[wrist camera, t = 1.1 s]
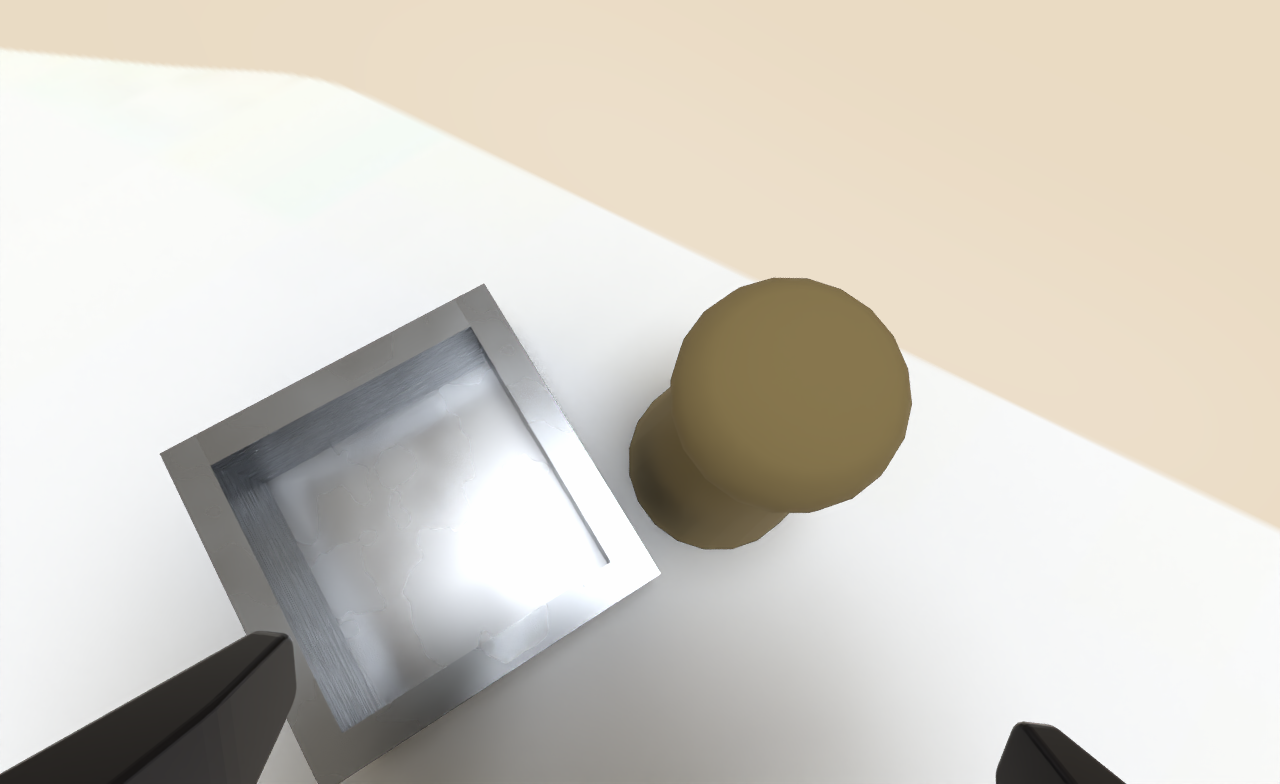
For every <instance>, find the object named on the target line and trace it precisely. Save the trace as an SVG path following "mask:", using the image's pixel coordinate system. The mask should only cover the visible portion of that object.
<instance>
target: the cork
mask: <svg viewBox="0 0 1280 784" xmlns="http://www.w3.org/2000/svg"><path fill="white" fill-rule="evenodd" d="M911 406H912V400H911V391H910V382H909V373H908V368H907V365H906V363H905V361H904V359H903V356H902V354H901V352H900V350H899V347H898V345H897V343H896V340H895V339H894V336H893V335H892V334H891V332H890V331H889V330H888V329H887V328H886V326H885V325H884V324H883V323H882V322H881V321H880V319H879V318H878V317H877V316H876V315H875V314H874V312H873V311H872V310H871V309H870V308H868V307H867V306H865V305H864V304H862V303H861V302H859V301H858V300H856V299H855V298H853V297H852V296H850V295H849V294H847V293H846V292H844V291H843V290H841V289H839V288H836V287H832V286H829V285H826V284H823V283H820V282H816V281H814V280H811V279H807V278H771V279H767V280H764V281H760V282H757V283H753V284H750V285H746V286H743V287H740V288H738V289H737V290H735V291H733V292H732V293H730V294H729V295H727V296H726V297H725V298H723V299H722V300H720V301H719V302H717V303H716V304H714V305H713V306H711V307H710V308H709V309H707V310H706V311H704V312H703V314H702V315H701V317H700V318H699V319H698V321H697V322H696V323H695V325H694V326H693V327H692V329H691V330H690V331H689V333H688V334H687V335H686V337H685V338H684V340H683V343H682V346H681V348H680V352H679V355H678V358H677V361H676V364H675V368H674V371H673V374H672V377H671V387H670V388H669V389H667V390H666V391H665V392H664V393H663V394H661V395H660V396H659V397H658V398H657V399H656V400H654V401H653V402H652V404H651V405H650V406H649V408H648V409H647V410H646V412H645V413H644V415H643V416H642V417H641V419H640V420H639V421H638V423H637V426H636V429H635V432H634V435H633V438H632V441H631V444H630V447H629V475H630V478H631V481H632V484H633V487H634V490H635V493H636V496H637V499H638V502H639V503H640V505H641V506H642V507H643V509H644V510H645V511H646V513H647V514H648V516H649V517H650V518H651V520H652V521H653V522H654V524H655V525H657V526H658V527H659V528H661V529H662V530H664V531H665V532H666V533H668V534H669V535H670V536H672V537H673V538H675V539H676V540H677V541H680V542H683V543H686V544H689V545H692V546H696V547H699V548H702V549H734V548H736V547H739V546H742V545H745V544H748V543H751V542H754V541H757V540H758V539H760V538H761V537H762V536H763V535H765V534H766V533H767V532H769V531H770V530H771V529H772V528H774V527H775V526H776V525H777V524H779V523H780V522H781V521H782V520H783V519H784V518H785V517H786V516H787V515H788V514H789V513H810V512H814V511H818V510H821V509H824V508H827V507H830V506H832V505H835V504H838V503H841V502H844V501H847V500H850V499H853V498H854V497H855V496H856V495H858V494H859V493H860V492H861V491H863V490H864V489H865V488H866V487H868V486H869V485H870V484H871V483H873V482H874V481H875V480H876V479H878V478H879V477H880V476H881V475H882V473H883V472H884V471H885V469H886V468H887V466H888V464H889V463H890V461H891V460H892V458H893V456H894V455H895V453H896V451H897V450H898V448H899V446H900V445H901V443H902V442H903V440H904V438H905V434H906V430H907V425H908V420H909V415H910V411H911Z"/></svg>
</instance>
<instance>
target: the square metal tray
mask: <svg viewBox="0 0 1280 784" xmlns="http://www.w3.org/2000/svg"><path fill="white" fill-rule="evenodd" d="M160 455H161V457H162V459H163V461H164V463H165V465H166V468H167V470H168V472H169V474H170V476H171V478H172V480H173V482H174V484H175V486H176V488H177V491H178V493H179V495H180V497H181V499H182V501H183V503H184V505H185V507H186V509H187V511H188V514H189V516H190V518H191V520H192V522H193V524H194V526H195V528H196V530H197V532H198V534H199V536H200V539H201V541H202V543H203V545H204V547H205V549H206V551H207V553H208V555H209V557H210V559H211V562H212V564H213V566H214V568H215V570H216V572H217V574H218V576H219V578H220V580H221V582H222V585H223V587H224V589H225V591H226V593H227V595H228V597H229V599H230V601H231V603H232V605H233V608H234V610H235V612H236V614H237V616H238V618H239V620H240V622H241V624H242V626H243V628H244V631H245V633H246V635H248V634H250V633H252V632H255V631H269V632H278V633H285V634H287V635H289V636H290V637H291V639H292V641H293V646H294V658H295V669H296V681H297V689H296V695H295V699H294V702H293V705H292V707H291V710H290V712H289V714H288V716H287V720H288V722H289V725H290V727H291V729H292V731H293V733H294V735H295V737H296V739H297V741H298V743H299V745H300V747H301V750H302V752H303V754H304V756H305V758H306V760H307V762H308V764H309V766H310V768H311V770H312V773H313V775H314V777H315V779H316V781H317V783H318V784H339V783H340V782H342V781H343V780H345V779H346V778H348V777H350V776H351V775H353V774H354V773H356V772H357V771H359V770H360V769H362V768H363V767H365V766H366V765H368V764H369V763H371V762H373V761H374V760H376V759H377V758H379V757H380V756H382V755H383V754H385V753H386V752H388V751H389V750H391V749H393V748H394V747H396V746H397V745H399V744H400V743H402V742H403V741H405V740H406V739H408V738H409V737H411V736H412V735H414V734H416V733H417V732H419V731H420V730H422V729H423V728H425V727H426V726H428V725H429V724H431V723H432V722H434V721H436V720H437V719H439V718H440V717H442V716H443V715H445V714H446V713H448V712H449V711H451V710H452V709H454V708H455V707H457V706H459V705H460V704H462V703H463V702H465V701H466V700H468V699H469V698H471V697H472V696H474V695H475V694H477V693H479V692H480V691H482V690H483V689H485V688H486V687H488V686H489V685H491V684H492V683H494V682H495V681H497V680H498V679H500V678H502V677H503V676H505V675H506V674H508V673H509V672H511V671H512V670H514V669H515V668H517V667H518V666H520V665H522V664H523V663H525V662H526V661H528V660H529V659H531V658H532V657H534V656H535V655H537V654H538V653H540V652H541V651H543V650H545V649H546V648H548V647H549V646H551V645H552V644H554V643H555V642H557V641H558V640H560V639H561V638H563V637H565V636H566V635H568V634H569V633H571V632H572V631H574V630H575V629H577V628H578V627H580V626H581V625H583V624H584V623H586V622H588V621H589V620H591V619H592V618H594V617H595V616H597V615H598V614H600V613H601V612H603V611H604V610H606V609H608V608H609V607H611V606H612V605H614V604H615V603H617V602H618V601H620V600H621V599H623V598H624V597H626V596H627V595H629V594H631V593H632V592H634V591H635V590H637V589H638V588H640V587H641V586H643V585H644V584H646V583H647V582H649V581H651V580H652V579H654V578H655V577H657V576H658V575H660V574H661V573H660V571H659V570H658V568H657V566H656V565H655V563H654V561H653V560H652V558H651V557H650V555H649V553H648V552H647V550H646V548H645V547H644V545H643V543H642V542H641V540H640V538H639V537H638V535H637V534H636V532H635V530H634V529H633V527H632V525H631V524H630V522H629V520H628V519H627V517H626V516H625V514H624V512H623V511H622V509H621V507H620V506H619V504H618V502H617V501H616V499H615V497H614V496H613V494H612V493H611V491H610V489H609V488H608V486H607V484H606V483H605V481H604V479H603V478H602V476H601V474H600V473H599V471H598V470H597V468H596V466H595V465H594V463H593V461H592V460H591V458H590V456H589V455H588V453H587V452H586V450H585V448H584V447H583V445H582V443H581V442H580V440H579V438H578V437H577V435H576V433H575V432H574V430H573V429H572V427H571V425H570V424H569V422H568V420H567V419H566V417H565V415H564V414H563V412H562V411H561V409H560V407H559V406H558V404H557V402H556V401H555V399H554V397H553V396H552V394H551V392H550V391H549V389H548V388H547V386H546V384H545V383H544V381H543V379H542V378H541V376H540V374H539V373H538V371H537V369H536V368H535V366H534V365H533V363H532V361H531V360H530V358H529V356H528V355H527V353H526V351H525V350H524V348H523V347H522V345H521V343H520V342H519V340H518V338H517V337H516V335H515V333H514V332H513V330H512V328H511V327H510V325H509V324H508V322H507V320H506V319H505V317H504V315H503V314H502V312H501V310H500V309H499V307H498V306H497V304H496V302H495V301H494V299H493V297H492V296H491V294H490V292H489V291H488V289H487V287H486V286H485V284H482V285H480V286H478V287H477V288H475V289H473V290H471V291H469V292H467V293H465V294H463V295H461V296H459V297H457V298H456V299H454V300H452V301H450V302H448V303H446V304H444V305H442V306H440V307H438V308H436V309H435V310H433V311H431V312H429V313H427V314H425V315H423V316H421V317H419V318H417V319H416V320H414V321H412V322H410V323H408V324H406V325H404V326H402V327H400V328H398V329H396V330H395V331H393V332H391V333H389V334H387V335H385V336H383V337H381V338H379V339H377V340H375V341H374V342H372V343H370V344H368V345H366V346H364V347H362V348H360V349H358V350H356V351H355V352H353V353H351V354H349V355H347V356H345V357H343V358H341V359H339V360H337V361H335V362H334V363H332V364H330V365H328V366H326V367H324V368H322V369H320V370H318V371H316V372H315V373H313V374H311V375H309V376H307V377H305V378H303V379H301V380H299V381H297V382H295V383H294V384H292V385H290V386H288V387H286V388H284V389H282V390H280V391H278V392H276V393H274V394H273V395H271V396H269V397H267V398H265V399H263V400H261V401H259V402H257V403H255V404H254V405H252V406H250V407H248V408H246V409H244V410H242V411H240V412H238V413H236V414H234V415H233V416H231V417H229V418H227V419H225V420H223V421H221V422H219V423H217V424H215V425H213V426H212V427H210V428H208V429H206V430H204V431H202V432H200V433H198V434H196V435H194V436H193V437H191V438H189V439H187V440H185V441H183V442H181V443H179V444H177V445H175V446H173V447H172V448H170V449H168V450H166V451H164V452H162V453H160Z"/></svg>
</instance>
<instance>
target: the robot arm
mask: <svg viewBox="0 0 1280 784" xmlns="http://www.w3.org/2000/svg"><path fill="white" fill-rule="evenodd" d="M296 689H297V681H296V669H295V658H294V646H293V641H292V639H291V637H290V636H289V635H287V634H285V633H278V632H269V631H255V632H252V633H250V634H248V635H246V636H245V637H243V638H241V639H239V640H238V641H236V642H234V643H232V644H230V645H229V646H227V647H225V648H223V649H221V650H220V651H218V652H216V653H214V654H213V655H211V656H209V657H207V658H205V659H204V660H202V661H200V662H198V663H197V664H195V665H193V666H191V667H189V668H188V669H186V670H184V671H182V672H181V673H179V674H177V675H175V676H173V677H172V678H170V679H168V680H166V681H165V682H163V683H161V684H159V685H157V686H156V687H154V688H152V689H150V690H149V691H147V692H145V693H143V694H141V695H140V696H138V697H136V698H134V699H132V700H131V701H129V702H127V703H125V704H124V705H122V706H120V707H118V708H116V709H115V710H113V711H111V712H109V713H108V714H106V715H104V716H102V717H100V718H99V719H97V720H95V721H93V722H92V723H90V724H88V725H86V726H84V727H83V728H81V729H79V730H77V731H76V732H74V733H72V734H70V735H68V736H67V737H65V738H63V739H61V740H60V741H58V742H56V743H54V744H52V745H51V746H49V747H47V748H45V749H43V750H42V751H40V752H38V753H36V754H35V755H33V756H31V757H29V758H27V759H26V760H24V761H22V762H20V763H19V764H17V765H15V766H13V767H11V768H10V769H8V770H6V771H4V772H3V773H1V774H0V784H257V781H258V779H259V777H260V775H261V773H262V771H263V768H264V766H265V764H266V762H267V760H268V757H269V755H270V753H271V751H272V749H273V747H274V744H275V742H276V740H277V738H278V736H279V734H280V731H281V729H282V727H283V725H284V723H285V721H286V718H287V716H288V714H289V712H290V710H291V707H292V705H293V702H294V699H295V695H296ZM996 784H1126V783H1124V782H1123V781H1122V780H1121V779H1120V778H1118V777H1117V776H1116V775H1115V774H1113V773H1112V772H1111V771H1110V770H1108V769H1107V768H1106V767H1105V766H1103V765H1102V764H1101V763H1100V762H1098V761H1097V760H1096V759H1095V758H1094V757H1092V756H1091V755H1090V754H1089V753H1087V752H1086V751H1085V750H1084V749H1082V748H1081V747H1080V746H1079V745H1077V744H1076V743H1075V742H1074V741H1072V740H1071V739H1070V738H1069V737H1067V736H1066V735H1065V734H1064V733H1063V732H1061V731H1060V730H1059V729H1057V728H1056V727H1054V726H1051V725H1048V724H1040V723H1032V722H1019V723H1017V724H1016V725H1015V726H1014V727H1013V729H1012V731H1011V733H1010V736H1009V739H1008V741H1007V744H1006V746H1005V749H1004V751H1003V754H1002V756H1001V759H1000V761H999V764H998V767H997V771H996Z"/></svg>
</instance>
